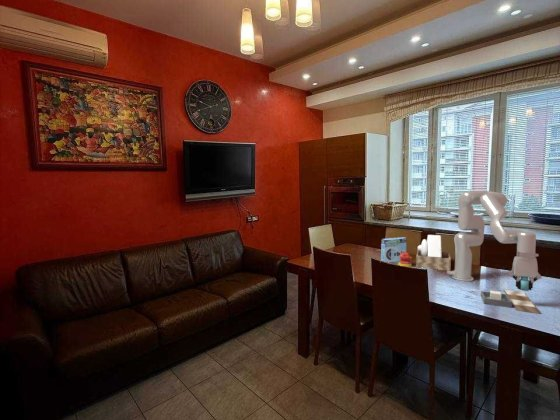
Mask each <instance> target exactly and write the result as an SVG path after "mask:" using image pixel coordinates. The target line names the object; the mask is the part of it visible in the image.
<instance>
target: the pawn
mask: <svg viewBox="0 0 560 420" xmlns="http://www.w3.org/2000/svg"><path fill="white" fill-rule="evenodd" d="M519 280H520V289H519V290H520V291H522V292H529V291H530V290H529V281H530V280H529V277H523V276H520V279H519Z"/></svg>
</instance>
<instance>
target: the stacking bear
mask: <svg viewBox="0 0 560 420" xmlns="http://www.w3.org/2000/svg"><path fill="white" fill-rule="evenodd" d="M412 258H413V257H412V256H411V255H410V253H408V252H407V251H406V252H404V253H401V254H400V259H401V260H400V261H399V263H398V265H400V266H406V267H412ZM412 268H413V267H412Z"/></svg>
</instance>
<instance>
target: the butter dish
mask: <svg viewBox="0 0 560 420" xmlns="http://www.w3.org/2000/svg"><path fill="white" fill-rule="evenodd" d="M417 250H419V251H421V254H422V256H427V257H438V258H441V252H442V235H436V234H427V238H426V239H425V238H424V239H422V241H421V244H419V245H418V246H417Z"/></svg>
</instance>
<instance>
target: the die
mask: <svg viewBox="0 0 560 420" xmlns="http://www.w3.org/2000/svg"><path fill="white" fill-rule="evenodd" d="M489 292H490V299H496V300H501V294H502V293H501V291H497V290H489Z"/></svg>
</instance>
